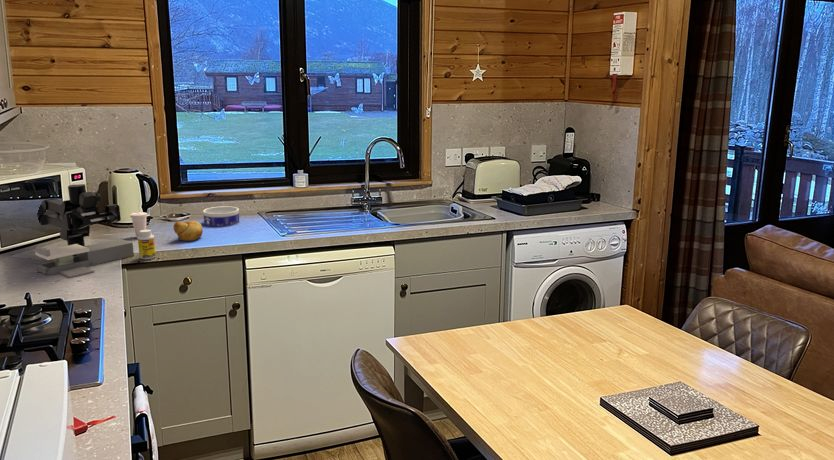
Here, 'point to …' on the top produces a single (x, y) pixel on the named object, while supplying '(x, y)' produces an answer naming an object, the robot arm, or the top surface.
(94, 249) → the grey long stepped bar
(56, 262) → the block
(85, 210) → the robot arm
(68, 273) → the pad
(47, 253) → the cover
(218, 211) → the dog bowl
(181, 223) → the bread roll
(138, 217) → the smoothie
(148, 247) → the supplement bottle
